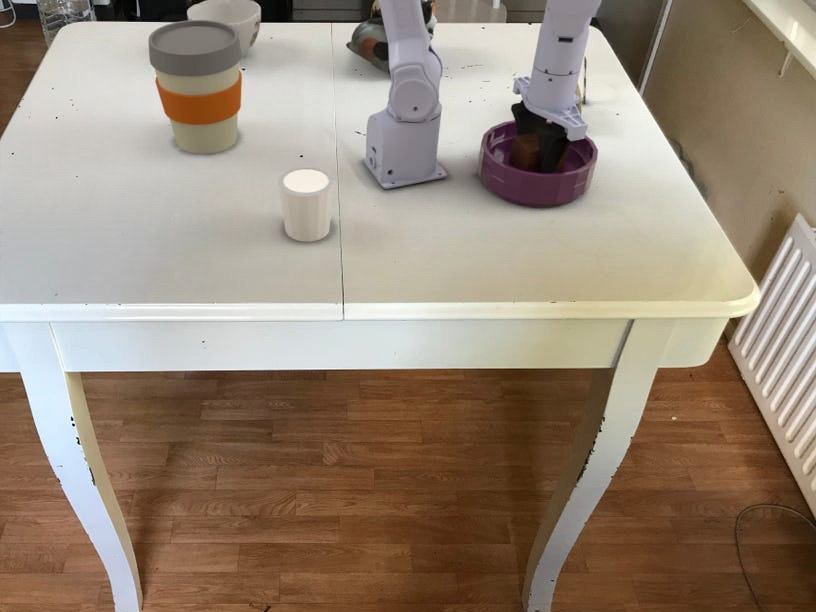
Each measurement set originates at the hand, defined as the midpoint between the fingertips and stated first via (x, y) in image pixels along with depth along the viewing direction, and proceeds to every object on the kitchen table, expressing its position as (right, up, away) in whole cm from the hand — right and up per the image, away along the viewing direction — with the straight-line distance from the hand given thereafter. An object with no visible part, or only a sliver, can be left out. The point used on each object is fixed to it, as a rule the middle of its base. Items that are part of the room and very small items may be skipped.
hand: (536, 164), depth 102 cm
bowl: (0, -2, +2) cm, 2 cm away
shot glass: (-31, -10, -7) cm, 33 cm away
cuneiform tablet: (+9, +11, +15) cm, 21 cm away
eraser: (0, -1, +1) cm, 1 cm away
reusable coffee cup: (-46, +6, +10) cm, 48 cm away
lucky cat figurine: (-18, +25, +29) cm, 42 cm away
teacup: (-46, +26, +30) cm, 61 cm away
